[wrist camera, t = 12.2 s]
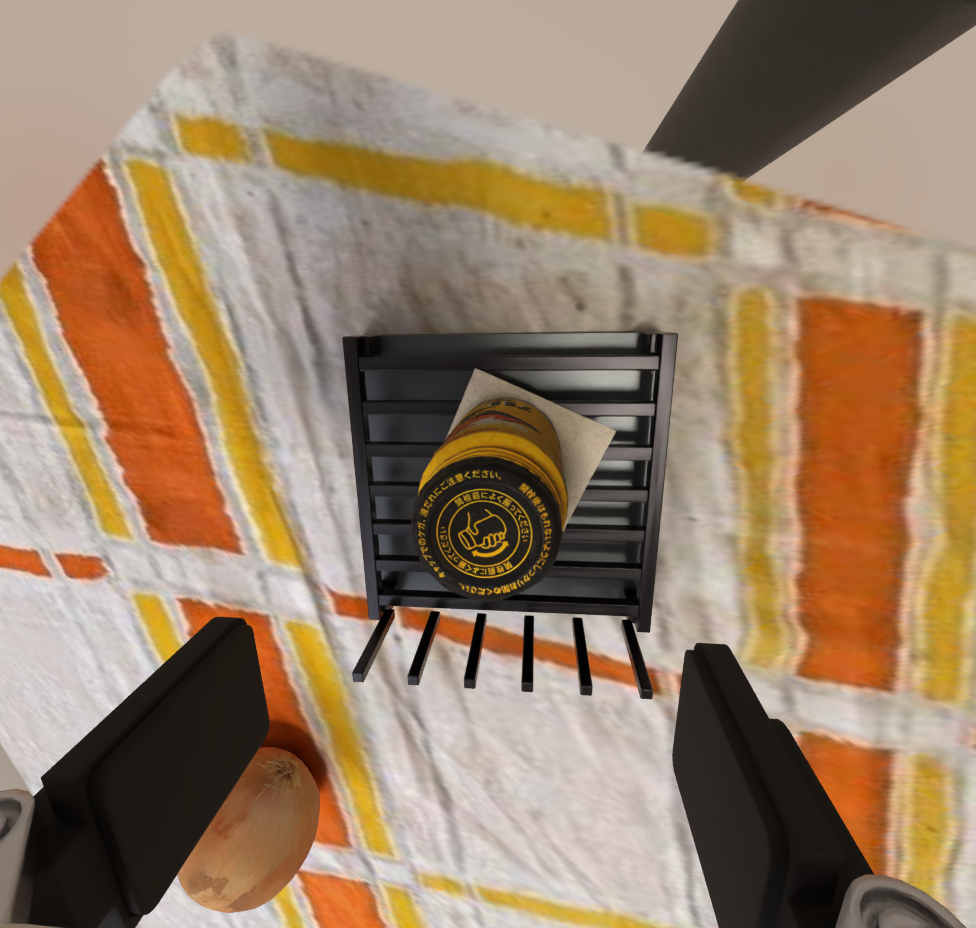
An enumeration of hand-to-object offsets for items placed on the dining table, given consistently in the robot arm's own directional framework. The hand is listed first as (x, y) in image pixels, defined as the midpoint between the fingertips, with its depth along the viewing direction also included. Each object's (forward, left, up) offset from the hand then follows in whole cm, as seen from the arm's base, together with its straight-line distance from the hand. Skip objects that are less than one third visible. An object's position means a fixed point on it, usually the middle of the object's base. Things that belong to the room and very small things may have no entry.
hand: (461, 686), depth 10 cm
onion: (+28, -19, -22) cm, 41 cm away
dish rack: (+2, 0, -22) cm, 22 cm away
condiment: (0, +1, -19) cm, 19 cm away
